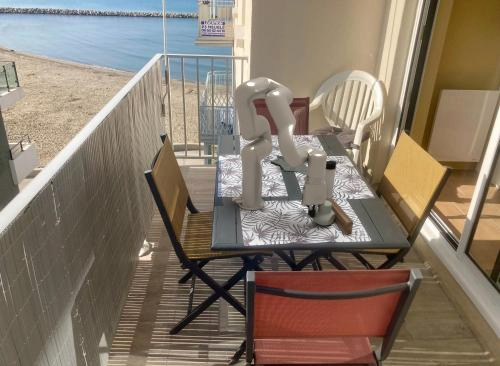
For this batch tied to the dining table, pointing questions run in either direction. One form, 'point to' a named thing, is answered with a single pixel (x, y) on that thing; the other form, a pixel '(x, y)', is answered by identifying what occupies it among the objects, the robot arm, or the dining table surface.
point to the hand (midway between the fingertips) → (311, 216)
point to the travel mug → (330, 178)
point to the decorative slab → (286, 168)
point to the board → (341, 218)
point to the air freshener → (324, 214)
